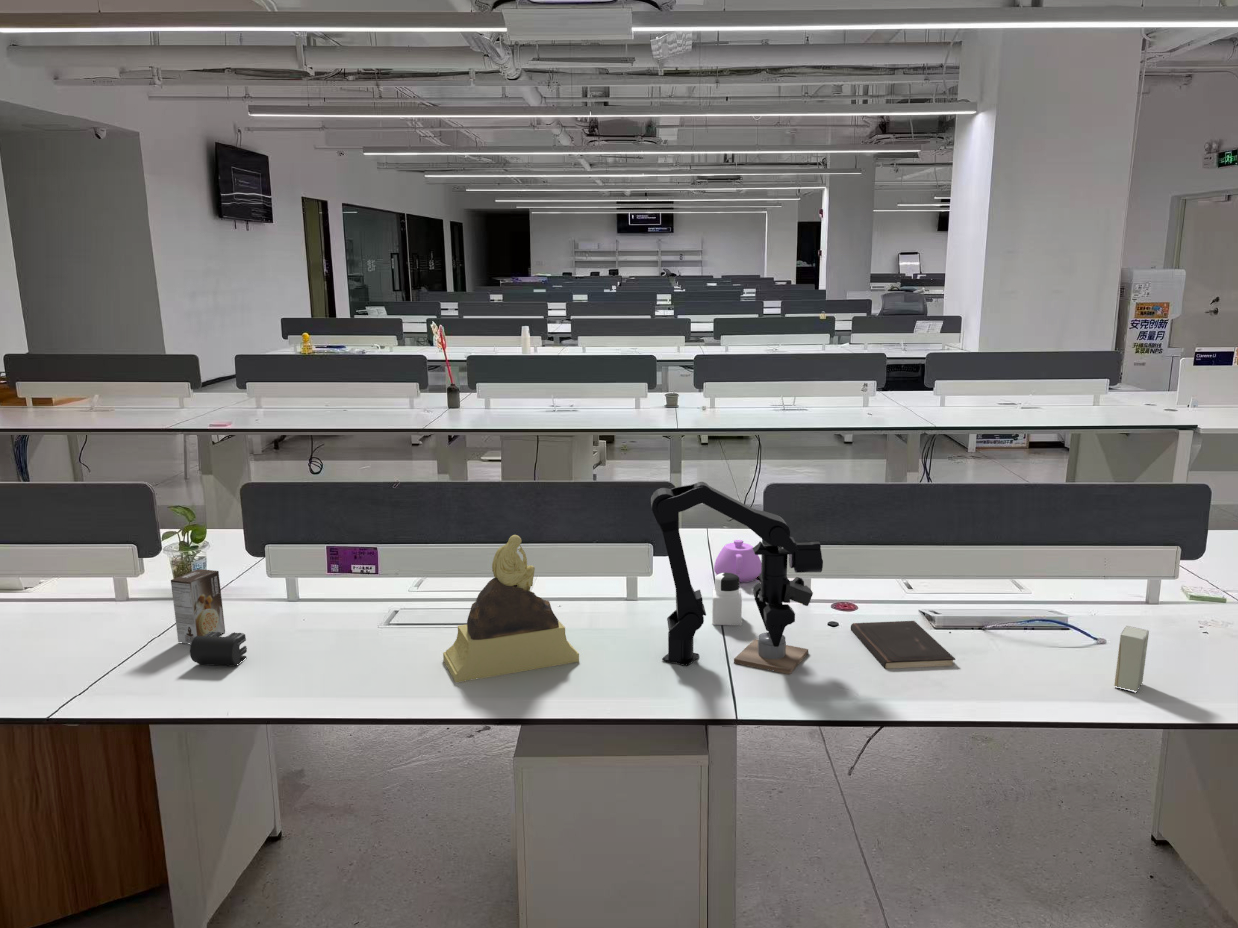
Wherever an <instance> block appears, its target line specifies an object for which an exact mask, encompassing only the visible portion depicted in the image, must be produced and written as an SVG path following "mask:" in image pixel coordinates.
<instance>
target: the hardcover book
mask: <svg viewBox="0 0 1238 928" xmlns="http://www.w3.org/2000/svg"><path fill="white" fill-rule="evenodd" d="M850 631H851V632H852V634H853V635H855V637H856V638H857V639H858V640H859V641H860V642H861V644H862V645H863V646H864V647H865V648H866V650H868V652H869V653H870V654H871V655H872V656H873V657H874V658H875V660H876V661H877V662H878V663H879V664H880V665H881V667H883V669H884V670H886V669H897V668H898V669H902V668H904V669H905V668H922V667H923V668H925V667H927V668H929V667H947V666H950V667H951V666H954V661H955V660H956V657H955V656H953V655H952V654H951V653H949V651H948V650H946V648H945V647H943V646H942V645H941V644H940V643H939V642H938V641H937V640H936V639H935V638H934V637H933V636H931V634H929V633H928V632H927V631H926V630H925V629H924V628H923V627H922V626H920V624H918V623H917V622H916V620H901V621H899V620H898V621H897V620H896V621H877V622H876V621H874V622H853V623H852V624H851V625H850Z"/></svg>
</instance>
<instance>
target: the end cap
mask: <svg viewBox="0 0 1238 928" xmlns="http://www.w3.org/2000/svg"><path fill="white" fill-rule="evenodd" d="M220 634H221V632H209V633H207V634H206V635H204V636H196V637H195V638H194V639H193V641H192V643H191V645H190V647H189V655H190V656H189V657H190V658H191V661H192V662H194V663H197V664H199V665H207V664H214V665H213V666H229V665H234V666H233V667H237V666H236V665H237V664H239V663H240V662H241V661H243V660H244V659H245V658H246V659H247V656H246V655H245V654H246V653H247V652H248V651H247V650H248V648H247V645H244V646H242V647H241V648H240V646H241V645H242V644H243V643H245V642H246V641H247V638H246V634H245V633H243V632H231V634H228V635H227V636H221V635H222V634H221V635H220ZM244 661H245V660H244ZM244 661H243V662H244ZM239 665H240V664H239Z"/></svg>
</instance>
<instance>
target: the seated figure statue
mask: <svg viewBox="0 0 1238 928" xmlns="http://www.w3.org/2000/svg"><path fill="white" fill-rule="evenodd" d="M518 548H519V549H518ZM517 551H518V552H519V553H520V554H521V555H522V559H521V557H520V555H519V553H518V552H517ZM491 568H492V569H491V570H492V573H493V578H492V579H490V580H489V581H488V582H487V584H486V585H485V586H484V587H483V588H482V589H481V591H480V592H479V593H478V595H477V596H476V599H475V601H474V602H473V603H472V604H471V607H470V609H469V613H468V615H467V616H468V617H467V620H466V624H461V625H457V635H456V639H455V641H454V643H453V644H452V645H451V646H450V647H448V648H447V649H446V650H445V651H443V652H442V654H443V656H442V657H443V663H444V664H445V666H446V667H447V669H448V671H449V673H450V675H451V677H452V678H454V679H453V681H454V682H455V683H456V682H457V683H460V682H461V681H463V682H466V681H465V680H469V681H472V680H471V679H474V680H477V679H476V678H480V679H485V678H490V677H491V678H492V677H497V676H498V677H499V676H503V675H509V674H514V673H519V672H526V671H531V670H537V669H543V668H549V667H555V666H561V665H566V664H572V663H579V662H580V653H579V652H578V651H577V650H576V648H575V647H573V645H572V644H571V643H570V642H569V641H568V640H567V639H568V638H567V635H566V627H565V626H564V625H563V623H562V622H561V621H560V620H559V619H558V618H557V616H556V615H555V613H554V611H553V610H552V606H551V602H550V601H549V600H546V599H543V598H542V597H539V596H538V595H536V594H535V592H533V591H532V590H531V587H533V585H534V575H535V571H536V570H535V569H536V568H535V566H534V565H532V564H531V565H530V564H529V565H528V558H527V554H526V553H525V550H524V549H523V547H522V538H521V537H520V536H519V535H517V534H513V535H511V536H510V537H509V538H508V541H507V542H506V543H505V544H504V545H501V546H500V547H498V549H496V552H495V554H494V556H493V559H492V563H491ZM461 683H462V682H461Z"/></svg>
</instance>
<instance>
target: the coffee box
mask: <svg viewBox="0 0 1238 928" xmlns="http://www.w3.org/2000/svg"><path fill="white" fill-rule="evenodd" d="M219 572H220V571H219V570H211V569H202V568H201V569H200V568H199V569H196V570H193V571H189V572H188V573H185V574H183V575H181V576H178V577H175V578H173V579H170V585H171V586H170V587H171V594H172V600H173V609H174V618H175V619H174V620H175V626H176V634H177V642H182V643H190V644H191V643H192V641H193V639H194V638H195V637H196V636H204V635H206V634H207V633H209V632H221V635H223V634H225V633H226V627H225V625H226V624H225V618H224V617H225V616H224V609H223V599H222V591H221V582H220V573H219ZM224 632H225V633H224ZM222 633H223V634H222ZM182 643H181V644H182Z"/></svg>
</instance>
